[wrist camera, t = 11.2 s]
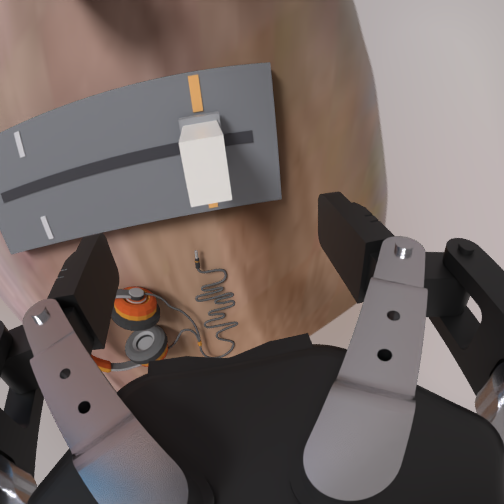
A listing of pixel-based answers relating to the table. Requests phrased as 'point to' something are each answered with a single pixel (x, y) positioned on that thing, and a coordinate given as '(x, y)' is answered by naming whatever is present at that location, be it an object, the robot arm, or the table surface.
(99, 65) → the table surface
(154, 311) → the headphones
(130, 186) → the console
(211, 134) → the fader
